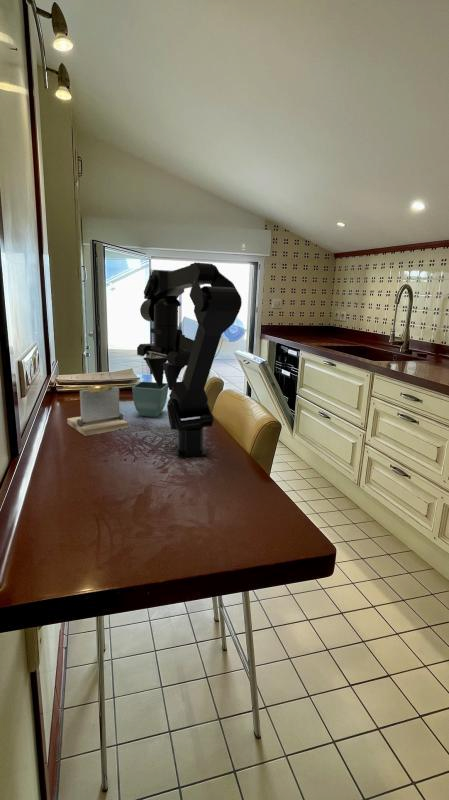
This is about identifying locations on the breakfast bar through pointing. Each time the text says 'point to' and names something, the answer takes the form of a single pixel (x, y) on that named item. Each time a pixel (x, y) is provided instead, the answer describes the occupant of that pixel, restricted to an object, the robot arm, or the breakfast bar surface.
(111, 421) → the pale wooden slab
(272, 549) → the breakfast bar surface
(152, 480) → the breakfast bar surface
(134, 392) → the flower pot
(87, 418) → the flat square panel
